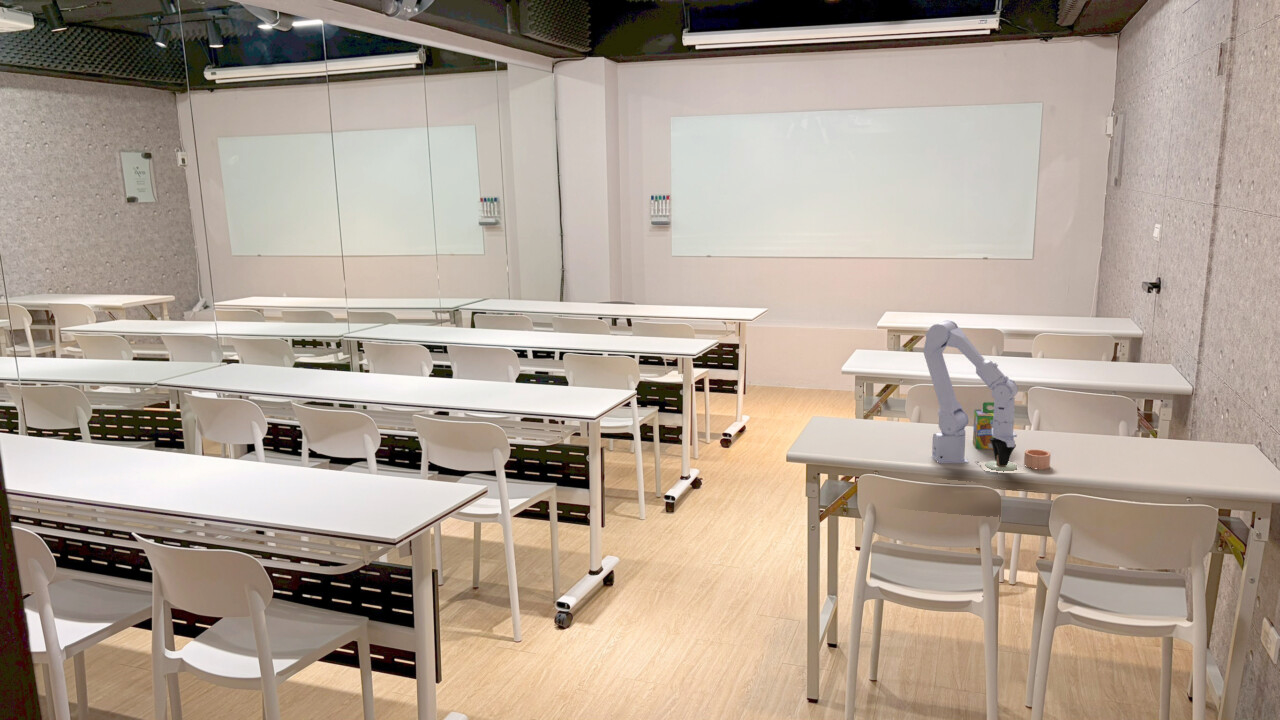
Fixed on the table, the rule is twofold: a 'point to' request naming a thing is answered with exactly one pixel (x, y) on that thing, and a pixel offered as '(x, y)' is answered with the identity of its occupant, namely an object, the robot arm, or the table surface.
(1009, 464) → the lid
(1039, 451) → the bowl
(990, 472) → the mat
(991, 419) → the chalk box
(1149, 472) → the table surface
